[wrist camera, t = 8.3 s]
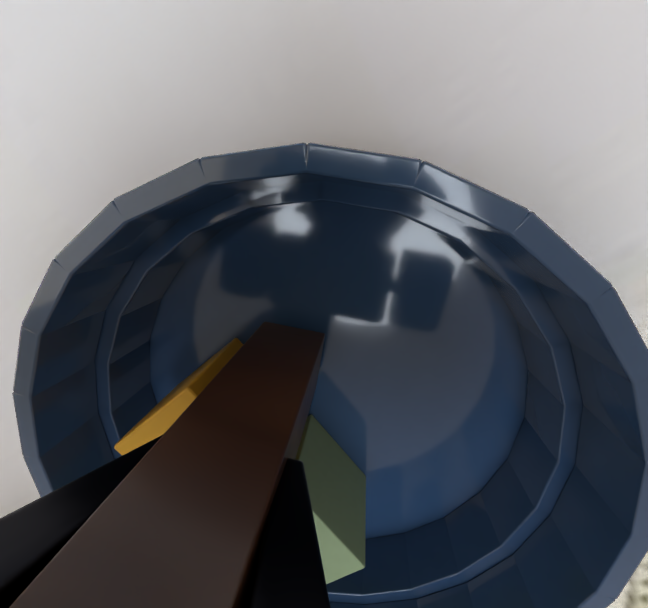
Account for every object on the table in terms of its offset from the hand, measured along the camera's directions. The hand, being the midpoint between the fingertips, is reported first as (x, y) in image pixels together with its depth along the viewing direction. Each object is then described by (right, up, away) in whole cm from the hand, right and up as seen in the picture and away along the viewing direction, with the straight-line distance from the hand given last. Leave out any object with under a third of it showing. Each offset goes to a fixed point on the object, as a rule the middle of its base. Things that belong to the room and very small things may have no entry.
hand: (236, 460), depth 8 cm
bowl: (+2, 0, +7) cm, 7 cm away
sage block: (+1, -4, +8) cm, 9 cm away
